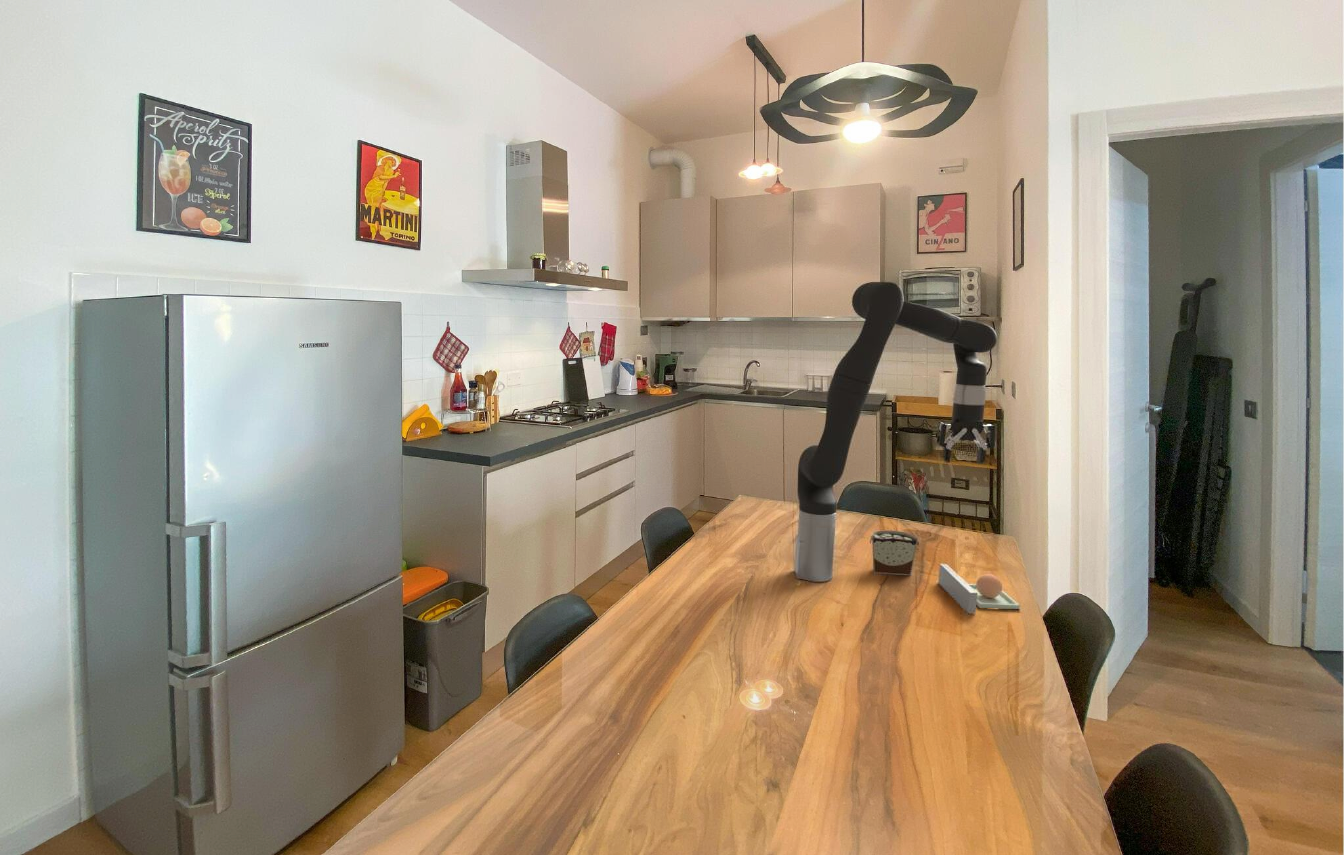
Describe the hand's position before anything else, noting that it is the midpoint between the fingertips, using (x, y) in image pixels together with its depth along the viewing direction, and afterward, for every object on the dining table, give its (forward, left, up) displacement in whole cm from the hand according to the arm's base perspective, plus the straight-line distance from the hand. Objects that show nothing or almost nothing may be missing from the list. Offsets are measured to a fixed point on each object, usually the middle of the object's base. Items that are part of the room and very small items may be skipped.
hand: (963, 462), depth 173 cm
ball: (-1, -23, -28) cm, 36 cm away
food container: (-19, -6, -28) cm, 35 cm away
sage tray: (-1, -23, -28) cm, 36 cm away
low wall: (-9, -23, -28) cm, 37 cm away
